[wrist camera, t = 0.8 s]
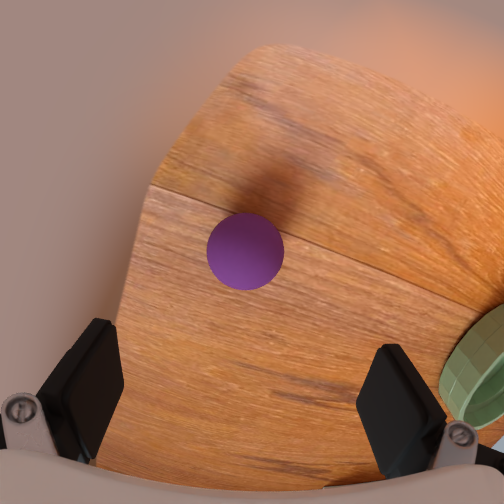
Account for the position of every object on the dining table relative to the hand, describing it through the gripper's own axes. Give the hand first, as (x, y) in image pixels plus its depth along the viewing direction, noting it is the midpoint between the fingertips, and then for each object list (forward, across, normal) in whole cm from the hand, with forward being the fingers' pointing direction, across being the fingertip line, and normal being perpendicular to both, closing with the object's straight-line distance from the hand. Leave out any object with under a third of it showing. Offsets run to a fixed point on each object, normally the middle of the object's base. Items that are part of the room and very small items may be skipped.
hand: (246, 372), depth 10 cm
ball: (+13, 0, -1) cm, 13 cm away
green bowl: (+14, -31, +11) cm, 36 cm away
